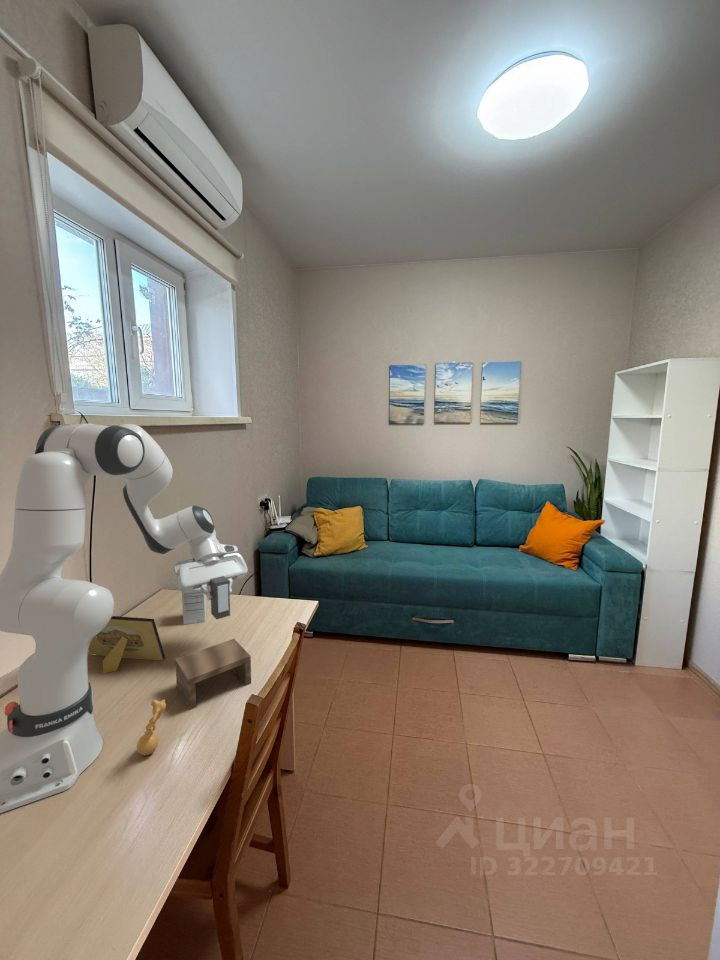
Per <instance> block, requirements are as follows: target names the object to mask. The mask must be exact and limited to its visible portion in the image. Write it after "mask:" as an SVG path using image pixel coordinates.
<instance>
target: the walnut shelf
mask: <svg viewBox="0 0 720 960" xmlns="http://www.w3.org/2000/svg"><path fill="white" fill-rule="evenodd" d="M251 658H252V657H251V655H250V654H249V652H248V651H247V650H246V649H245V648H244V647H243V646H242V645H241V644H240V643H239V642H238V641H237V640H236V639H235V638H232V639H229V640H227V641H223V642H220V643H217V644H215V645H211V646H209V647H205V648H203V649H201V650H198V651H195V652H191V653H189V654H186V655H184V656H181V657H177V658H175V677H176V678H175V679H176V688H177V691H178V692H179V694H180V696H181V697H182V699H183V700H184V702H185V703H186V705H187V708H188V710H193V709H195V708H197V696H196V695H197V693H196V692H197V691H196V683H198V682H199V683H200V682H201V681H203V680H204V681H205V680H206V679H208V678H211V677H214V676H217V675H219V674H221V673H224V672H227V671H229V670H231V669H232V671H233V672H234V673H235V674H236V675H237V677H238V678H239V679H240V680H241V681H242V682H243V684H244V686H249V685H250V684H252V665H251V664H252V662H251V661H252V659H251Z"/></svg>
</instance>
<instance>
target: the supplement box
mask: <svg viewBox="0 0 720 960" xmlns="http://www.w3.org/2000/svg"><path fill="white" fill-rule="evenodd" d="M181 597H182V598H181V602H182V603H181V605H182V621H183V623H182V624H183V625H190V624H198V623H199V624H200V623H205V622H206V620H207V619H206V618H207V595H205V594H204V593H203V592H202V591H201V589H200V588H198V589H194V590H190V591H186V592H182V591H181Z"/></svg>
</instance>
